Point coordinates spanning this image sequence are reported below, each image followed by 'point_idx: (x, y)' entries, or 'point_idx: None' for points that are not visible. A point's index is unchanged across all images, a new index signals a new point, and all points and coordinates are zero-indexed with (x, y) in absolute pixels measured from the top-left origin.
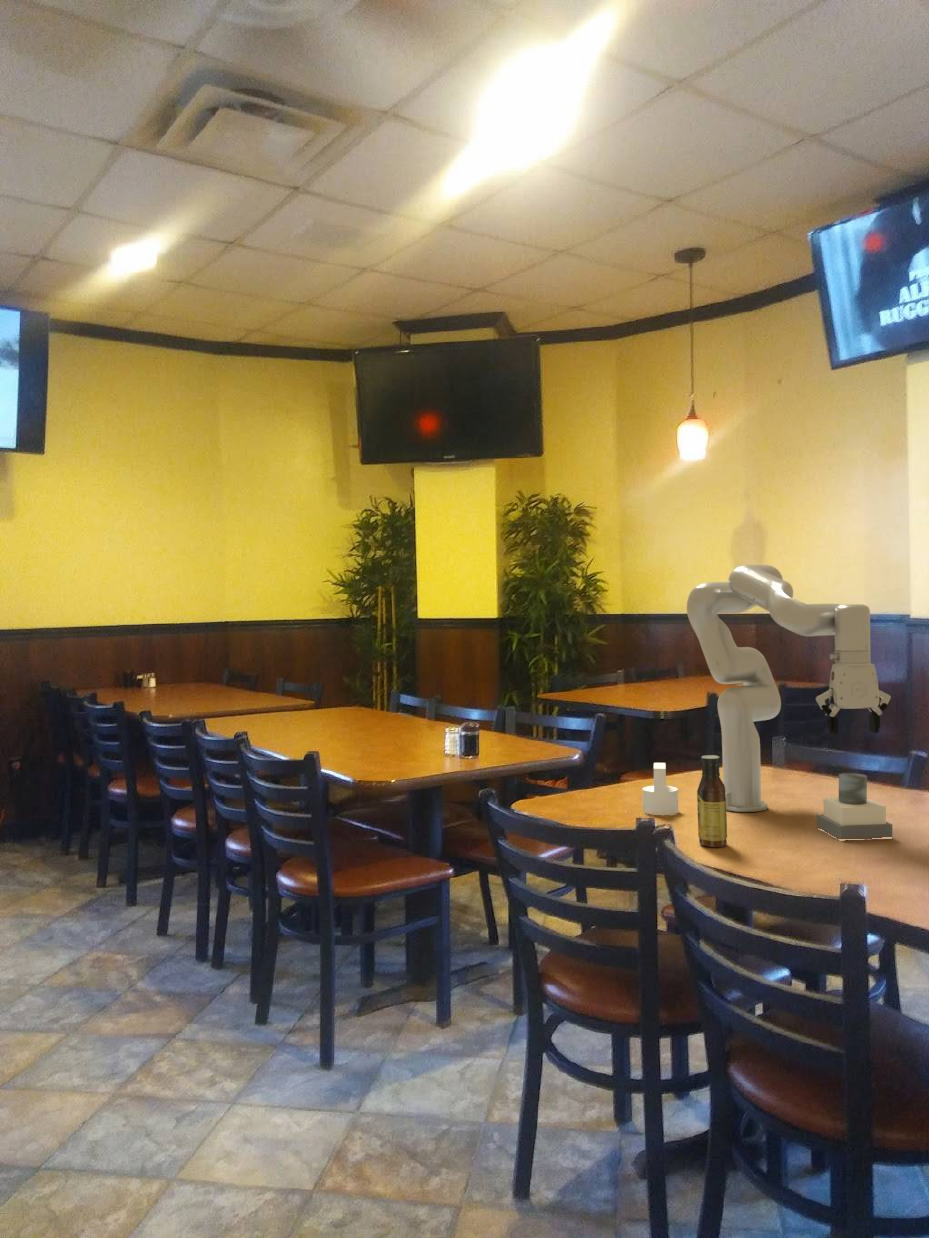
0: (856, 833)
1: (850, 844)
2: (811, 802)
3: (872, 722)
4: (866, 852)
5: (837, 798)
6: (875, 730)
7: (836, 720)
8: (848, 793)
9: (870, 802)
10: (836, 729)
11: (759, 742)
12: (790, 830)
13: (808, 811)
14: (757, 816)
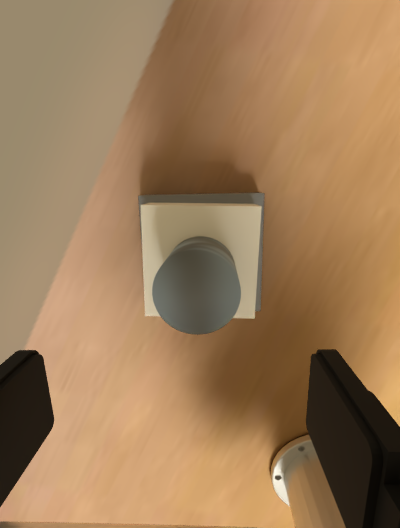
0: (224, 193)
1: (250, 165)
2: (172, 482)
3: (7, 434)
4: (250, 91)
5: None
6: (33, 360)
7: (375, 418)
8: (225, 251)
9: (159, 255)
10: (336, 365)
11: None
12: (314, 294)
13: (208, 424)
14: None
